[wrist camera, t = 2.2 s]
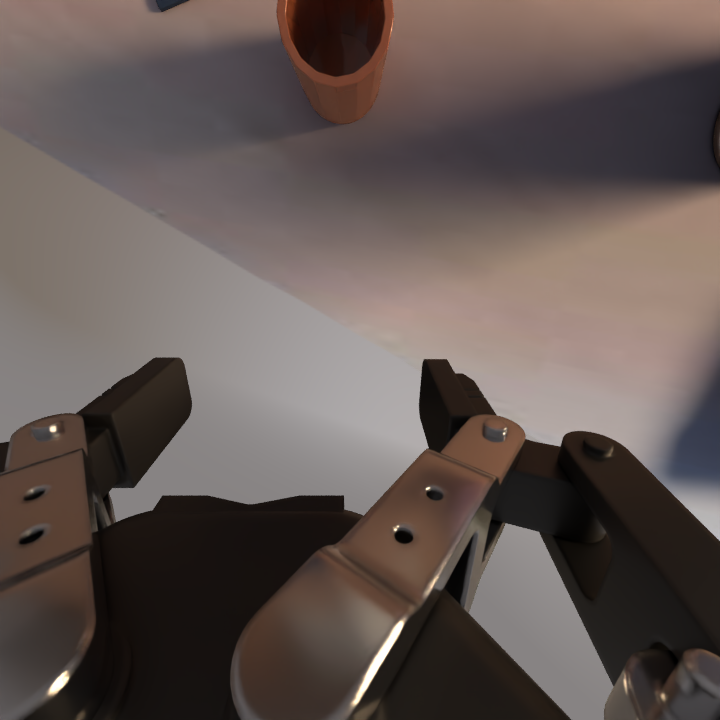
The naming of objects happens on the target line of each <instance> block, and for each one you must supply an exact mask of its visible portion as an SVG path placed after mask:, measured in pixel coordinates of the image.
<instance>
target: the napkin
mask: <svg viewBox="0 0 720 720" xmlns="http://www.w3.org/2000/svg"><path fill="white" fill-rule="evenodd" d="M186 1H188V0H156V2H157V4H158V7H159V9H160V10H161V11H162V12H163V11H165V10H168V9H170V8H172V7H175V6H177V5H179V4H181V3H184V2H186Z"/></svg>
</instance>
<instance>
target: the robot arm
mask: <svg viewBox="0 0 720 720" xmlns="http://www.w3.org/2000/svg"><path fill="white" fill-rule="evenodd" d="M713 143H714V154H715V157H716V160H717V163H718V165H719V167H720V112H719V115H718V118H717V121H716V125H715V130H714V141H713ZM191 408H192V400H191V395H190V390H189V385H188V380H187V375H186V370H185V366H184V363H183V361H182V359H180V358H153V359H152V360H151V361H149V362H148V363H147V364H146V365H144V366H143V367H142V368H140V369H139V370H138V371H136V372H135V373H134V374H132V375H130V376H127V377H125V378H123V379H121V380H120V381H119V382H117V383H116V384H115V385H113V386H112V387H111V389H108V390H107V391H105V392H104V393H103V394H102V396H99V397H97V398H96V399H95V400H93V401H92V402H91V403H89V404H88V405H87V406H85V407H84V408H83V409H81V410H80V411H79V412H77V413H76V414H72V413H65V414H57V415H52V416H48V417H44V418H41V419H38V420H35V421H33V422H31V423H29V424H26V425H25V426H23V427H21V428H20V429H18V430H17V431H16V432H14V433H13V435H12V436H11V438H10V442H4V443H0V720H571V719H570V718H569V717H568V716H567V715H566V714H565V713H564V711H563V710H562V709H561V708H560V707H559V706H558V705H557V704H556V703H555V702H554V701H553V700H552V699H551V698H550V697H549V696H548V695H547V694H546V693H545V692H544V691H543V690H542V689H541V688H540V687H539V686H538V685H537V684H536V683H535V682H534V681H533V679H532V678H531V677H530V676H529V675H528V674H527V673H526V672H525V671H524V670H523V669H522V668H521V667H520V666H519V665H518V664H517V663H516V662H515V661H514V660H513V659H512V658H511V657H510V656H509V655H508V654H507V653H506V652H505V651H504V650H503V649H502V648H501V646H500V645H499V644H498V643H497V642H496V641H495V640H494V639H493V638H492V637H491V636H490V635H489V634H488V633H487V632H486V631H485V630H484V629H483V628H482V627H481V626H480V625H479V624H478V623H477V622H476V621H475V620H474V619H473V618H472V617H471V616H470V614H469V610H470V608H471V605H472V602H473V599H474V596H475V593H476V590H477V587H478V584H479V581H480V579H481V576H482V574H483V571H484V569H485V567H486V565H487V563H488V561H489V558H490V556H491V554H492V552H493V550H494V547H495V546H496V543H497V541H498V539H499V537H500V535H501V533H502V530H503V528H504V526H505V523H508V524H512V525H516V526H519V527H523V528H527V529H531V530H535V531H539V532H540V535H541V537H542V539H543V541H544V543H545V545H546V547H547V549H548V551H549V553H550V556H551V558H552V560H553V562H554V564H555V566H556V568H557V570H558V572H559V574H560V576H561V578H562V580H563V582H564V584H565V587H566V589H567V591H568V593H569V595H570V597H571V599H572V601H573V603H574V605H575V607H576V609H577V612H578V614H579V616H580V618H581V620H582V622H583V624H584V626H585V628H586V630H587V632H588V634H589V636H590V639H591V640H592V643H593V645H594V647H595V649H596V650H597V653H598V655H599V657H600V659H601V661H602V663H603V666H604V668H605V670H606V672H607V674H608V676H609V678H610V680H611V682H612V684H613V686H614V688H613V690H612V692H611V693H610V695H609V697H608V699H607V702H606V704H605V709H604V720H720V541H719V540H718V539H717V538H716V537H715V536H714V535H713V534H712V533H711V532H710V531H709V530H708V529H707V528H706V527H705V526H704V525H703V524H702V523H701V522H700V521H699V520H698V519H697V518H696V517H695V516H694V515H693V514H692V513H691V512H690V511H689V510H688V509H687V508H686V507H685V506H684V505H683V504H682V503H681V502H680V501H679V500H678V499H677V498H676V497H675V496H674V495H673V494H672V493H671V492H670V491H669V490H668V489H667V488H666V487H665V486H664V485H663V484H662V483H661V482H660V481H659V480H658V479H657V478H656V477H655V476H654V475H653V474H652V473H651V472H650V471H649V470H648V469H647V468H646V467H645V466H644V465H643V464H642V463H641V462H640V461H639V460H638V459H637V458H636V457H635V456H634V455H633V454H632V453H631V452H630V451H629V450H628V449H626V448H625V447H624V446H623V445H621V444H620V443H618V442H616V441H615V440H613V439H610V438H608V437H606V436H603V435H600V434H596V433H592V432H586V431H574V432H570V433H567V434H566V435H565V436H564V437H563V440H562V443H561V447H559V446H554V445H549V444H543V443H538V442H533V441H530V440H527V439H525V432H524V430H523V429H522V428H521V427H520V426H519V425H518V424H516V423H515V422H513V421H511V420H509V419H507V418H504V417H500V416H497V415H496V414H495V412H494V411H493V409H492V408H491V406H490V404H489V403H488V401H487V400H486V398H484V395H483V394H482V392H481V391H479V388H478V386H477V385H476V383H475V382H474V381H473V380H472V379H470V378H469V377H467V376H466V375H464V374H455V372H454V371H453V369H452V367H451V366H450V364H449V362H448V360H447V359H424V361H423V365H422V377H421V387H420V399H419V413H420V419H421V423H422V426H423V429H424V433H425V436H426V439H427V443H428V447H429V448H428V449H426V450H425V451H424V452H423V453H422V454H421V455H420V456H419V457H418V458H417V459H416V460H415V462H413V463H412V464H411V466H410V467H409V468H408V469H407V470H406V471H405V472H404V473H403V474H402V475H401V476H400V477H399V478H398V480H397V481H396V482H395V483H394V484H393V485H392V486H391V487H390V488H389V489H388V490H387V491H386V492H385V493H384V494H383V496H382V497H381V498H380V499H379V500H378V501H377V502H376V503H375V504H374V505H373V506H372V507H371V508H370V509H369V511H368V512H367V513H366V514H365V515H364V516H363V515H361V514H358V513H354V512H352V511H348V510H344V496H295V497H290V498H284V499H280V500H274V501H269V502H264V503H258V504H249V505H248V504H243V503H239V502H234V501H229V500H225V499H221V498H216V497H211V496H162V497H161V499H160V500H159V502H158V503H157V505H156V506H155V508H154V509H153V510H152V511H148V512H144V513H141V514H137V515H134V516H131V517H128V518H125V519H123V520H121V521H118V522H116V520H115V515H114V509H113V504H112V501H111V497H110V495H109V491H110V490H111V489H112V488H134V487H135V486H136V485H137V483H138V482H139V481H140V479H141V478H142V477H143V476H144V474H145V473H146V472H147V470H148V469H149V468H150V467H151V465H152V464H153V463H154V461H155V460H156V459H157V458H158V456H159V455H160V454H161V452H162V451H163V450H164V449H165V447H166V446H167V445H168V444H169V442H170V441H171V440H172V438H173V437H174V436H175V435H176V433H177V432H178V431H179V429H180V428H181V427H182V425H183V424H184V423H185V422H186V420H187V419H188V418H189V416H190V413H191Z"/></svg>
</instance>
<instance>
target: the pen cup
mask: <svg viewBox="0 0 720 720" xmlns="http://www.w3.org/2000/svg"><path fill="white" fill-rule="evenodd" d="M277 19H278V24H279V29H280V34H281V39H282V42H283V45H284V47H285V50H286V52H287V54H288V56H289V59H290V61H291V63H292V65H293V68H294V70H295V72H296V74H297V77H298V79H299V81H300V83H301V85H302V88H303V90H304V92H305V94H306V96H307V98H308V100H309V102H310V104H311V105H312V107H313V108H314V109H315V111H316V112H317V113H318V114H319V115H320V116H322V117H323V118H324V119H326V120H328V121H330V122H333V123H337V124H349V123H352V122H355V121H357V120H359V119H360V118H362V117H363V116H364V115H366V114H367V112H368V111H369V110H370V109H371V107H372V106H373V104H374V102H375V100H376V97H377V95H378V92H379V87H380V83H381V78H382V73H383V69H384V64H385V60H386V55H387V51H388V46H389V41H390V36H391V32H392V27H393V22H394V12H393V3H392V0H278V3H277Z"/></svg>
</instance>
